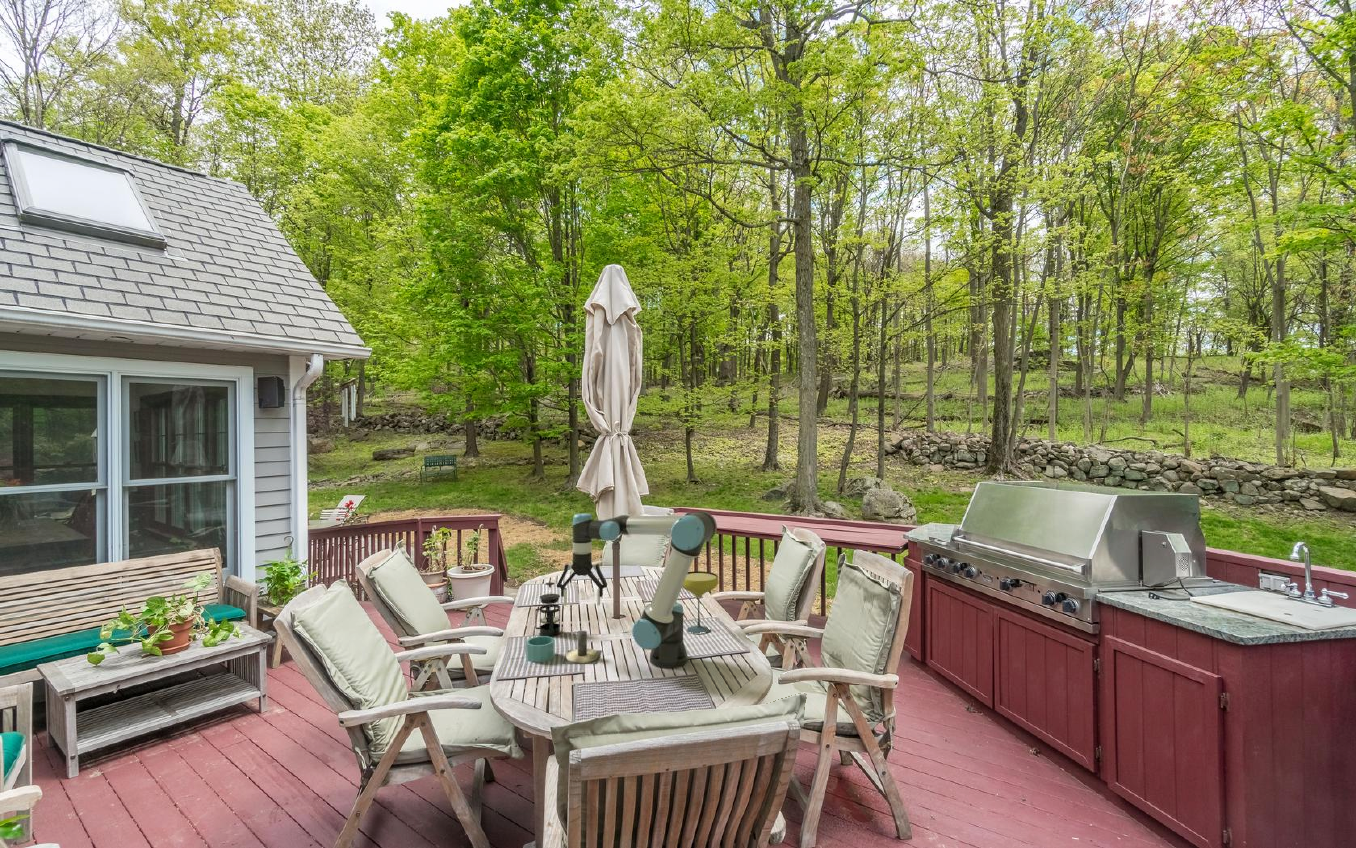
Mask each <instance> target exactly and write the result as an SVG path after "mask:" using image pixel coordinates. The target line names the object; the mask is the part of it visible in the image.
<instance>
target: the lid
mask: <svg viewBox="0 0 1356 848" xmlns="http://www.w3.org/2000/svg"><path fill="white" fill-rule="evenodd" d="M587 638H588V631H586V630H579V631H578V632H577V648H575V649H572V651H570V652H568V651H567V652H568V653H567V652H566V655H565V656H566V660H567V661H569V662H571V663H578V664H577V665H583V664H582V663H589V662H592V661H595V660H596V659H597V658H598V656H599V654H598V652H597V651H596V650H595V649H592V648H588V642H587V641H588V639H587Z"/></svg>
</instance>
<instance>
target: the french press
mask: <svg viewBox="0 0 1356 848" xmlns="http://www.w3.org/2000/svg"><path fill="white" fill-rule="evenodd" d="M544 585H546V586H548V588H549V589H551V588H552V586H554V585H555V582H552V581H550V582H545V584H544ZM560 598H561V594H558V593H546V594H542V595H540V596H539V599H540V603H541V604H544V605H541V606H540V607H539V608H535V609H534V610H535V613H534V615H535V616H534V618H535V627H534V628H535V629H536V630H539V634H538V635H539V636H548V637H552V638H554V637H557V636H560V635H561V606H560V605H559V604H556V603H558V602H559V599H560ZM551 608H555V609H551ZM537 611H539V627H537V619H538V618H537V615H538V614H537V613H538V612H537ZM557 612H558V617H557V616H554V613H557ZM541 614H546V617H545V616H544V617H541V616H542V615H541Z"/></svg>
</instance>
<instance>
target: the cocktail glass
mask: <svg viewBox="0 0 1356 848" xmlns="http://www.w3.org/2000/svg"><path fill="white" fill-rule="evenodd" d="M718 585H719V576H718V574H716V573H713V572H709V571H704V570H703V571H700V570H697V571H695V570H694V571H688V573H687V576H686V578H685V581H684V583H683V586H682V588H683V589H684V590H686V591H688V592H689V593H692V594H693V595H694V596H695V597H696V599H697V624H696V625H693V626H689V627H688V628H687V629H686V631H687V632H688V633H689V632H691V633H690V634H692V632H693V633H700V632H709V629H708V628H709V627H708V626H705V625H701V621H700V619H701V617H700V599H701V598H702V597H703V595H705V594H706V593H709V592H710V591H713V590H714V589H715V588H716V587H718ZM709 633H710V632H709Z"/></svg>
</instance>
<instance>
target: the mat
mask: <svg viewBox="0 0 1356 848" xmlns="http://www.w3.org/2000/svg"><path fill="white" fill-rule="evenodd" d="M572 650H573V649H572ZM572 650H571V649H569V650H567V652H566V654H567V653H568V652H570V651H572ZM596 651H597V652H598V654H599V656H598V658H597V659H596V660H595V661H592V662H589V663H582V664H581V665H598V662H599V661H600V657H601V654H602V650H601V649H600V650H599V649H598V650H596ZM561 665H579V664H578V663H571V662H569V661H567V660H566V655H565V657H564V658H563V660H562V662H561Z"/></svg>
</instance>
